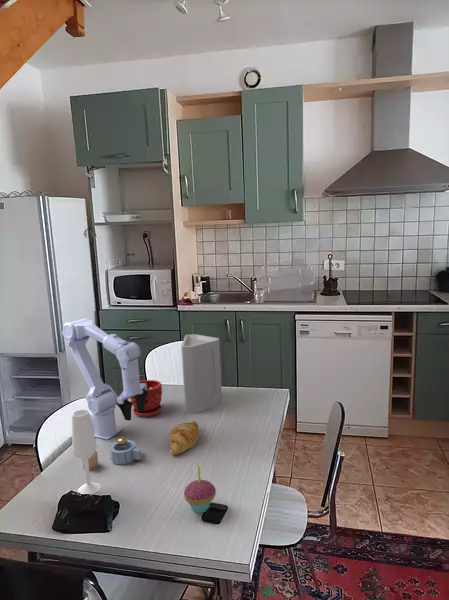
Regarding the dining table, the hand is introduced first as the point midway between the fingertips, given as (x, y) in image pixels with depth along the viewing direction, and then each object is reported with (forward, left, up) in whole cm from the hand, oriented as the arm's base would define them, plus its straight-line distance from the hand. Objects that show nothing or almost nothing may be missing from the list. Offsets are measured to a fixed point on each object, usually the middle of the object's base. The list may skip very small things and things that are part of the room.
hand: (134, 415), depth 154 cm
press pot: (+2, -10, -10) cm, 15 cm away
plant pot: (-11, +23, -11) cm, 28 cm away
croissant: (+16, +6, -11) cm, 20 cm away
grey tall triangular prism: (+8, +38, -11) cm, 40 cm away
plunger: (+2, -10, -10) cm, 14 cm away
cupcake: (+38, -24, -11) cm, 46 cm away
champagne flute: (+3, -28, -11) cm, 30 cm away
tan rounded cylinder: (-5, -18, -10) cm, 21 cm away
